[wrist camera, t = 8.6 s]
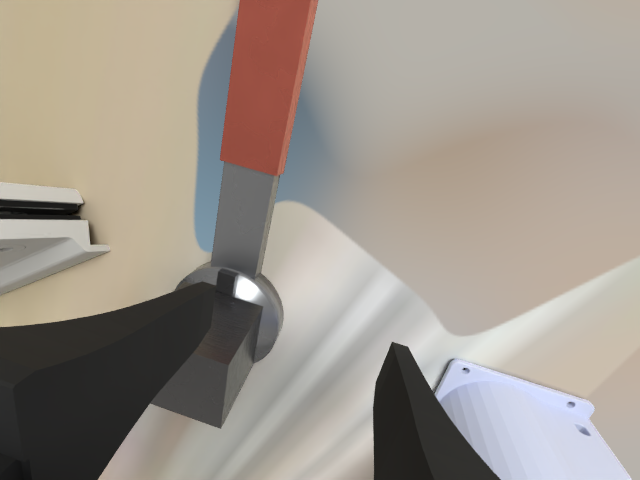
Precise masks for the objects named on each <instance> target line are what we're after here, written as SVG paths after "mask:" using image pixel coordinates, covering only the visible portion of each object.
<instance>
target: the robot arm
mask: <svg viewBox="0 0 640 480" xmlns="http://www.w3.org/2000/svg"><path fill="white" fill-rule="evenodd" d="M216 287H217V286H216V285H213V284H209V283H206V282H203V281H202V282H199V283H196V284H193V285H190V286H187V287H185V288H182V289H179V290H177V291H174V292H171V293H169V294H166V295H163V296H160V297H158V298H155V299H152V300H149V301H145V302H142V303H139V304H136V305H133V306H130V307H126V308H123V309H119V310H115V311H111V312H107V313H103V314H98V315H94V316H88V317H83V318H77V319H71V320H66V321H59V322H52V323H44V324H35V325H25V326H14V327H0V480H98V478H99V477H100V475H101V474H102V472H103V471H104V469H105V468H106V466H107V465H108V463H109V461H110V460H111V458H112V457H113V455H114V454H115V452H116V451H117V449H118V448H119V447H120V445H121V444H122V442H123V441H124V439H125V438H126V436H127V435H128V433H129V432H130V430H131V429H132V428H133V426H134V425H135V423H136V422H137V421H138V419H139V418H140V416H141V415H142V414H143V412H144V411H145V409H146V408H147V407H148V405H149V404H150V402H151V401H152V400H153V399H154V398H155V396H156V395H157V394H158V393H159V391H160V390H161V389H162V388H163V387H164V386H165V385H166V383H167V382H168V381H169V380H170V379H171V378H172V376H173V375H174V374H175V373H176V372H177V371H178V370H179V368H180V367H181V366H182V365H183V364H184V363H185V362H186V360H187V359H188V358H189V357H190V356H191V355H192V353H193V352H194V351H195V350H196V349H197V347H198V346H199V344H200V343H201V341H202V340H203V338H204V337H205V335H206V334H207V332H208V331H209V329H210V328H211V322H212V315H213V308H214V301H215V294H216ZM463 368H468V369H467V370H462V369H463ZM568 402H570V403H568ZM594 410H595V409H594V406H593V405H592V403H591V402H590V401H588V400H585V399H582V398H579V397H576V396H573V395H570V394H566V393H563V392H560V391H557V390H554V389H551V388H548V387H544V386H541V385H538V384H535V383H532V382H529V381H526V380H522V379H519V378H516V377H513V376H510V375H507V374H504V373H500V372H497V371H494V370H491V369H488V368H485V367H482V366H478V365H475V364H472V363H469V362H466V361H463V360H459V359H455V360H452V361H451V362H450V364H449V366H448V368H447V370H446V372H445V374H444V376H443V378H442V380H441V382H440V384H439V386H438V388H437V390H436V392H435V394H434V393H433V391H432V390H431V388H430V386H429V385H428V383H427V381H426V379H425V378H424V376H423V374H422V372H421V370H420V369H419V367H418V365H417V363H416V361H415V359H414V357H413V356H412V354H411V352H410V350H409V348H408V347H407V346H403V345H400V344H397V343H394V342H392V343H391V346H390V348H389V351H388V353H387V356H386V358H385V361H384V363H383V366H382V368H381V371H380V373H379V376H378V378H377V381H376V386H375V395H374V405H373V430H374V480H632V479H631V477H630V476H629V474H628V473H627V472H626V470H625V469H624V467H623V466H622V465H621V463H620V462H619V460H618V459H617V458H616V456H615V455H614V453H613V452H612V451H611V449H610V448H609V446H608V445H607V443H606V442H605V441H604V439H603V438H602V436H601V435H600V434H599V432H598V431H597V430H596V428H595V427H594V425H593V424H592V422H591V421H590V419H589V417H590V416H591V415H592V413H593V412H594Z"/></svg>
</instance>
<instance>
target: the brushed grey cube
mask: <svg viewBox="0 0 640 480" xmlns="http://www.w3.org/2000/svg"><path fill="white" fill-rule="evenodd" d="M190 285H193V284H191V283H188V282H185V281H184V282H183V283H182V284H181V285H180V286H179V287H178V288H177V289H176V290H175V291H177V290H179V289H182V288H185V287H187V286H190ZM262 311H263V306H260V305H257V304H254V303H251V302H247V301H244V300H241V299H238V298H235V297H232V296H229V295H226V294H223V293H219V292H216V294H215V301H214V308H213V315H212V322H211V328H210V329H209V331H208V332H207V334H206V335H205V337H204V338H203V340H202V341H201V343H200V344H199V346H198V347H197V349H196V350H195V351H194V352H193V353H192V355H191V356H190V357H189V358H188V359H187V360H186V362H185V363H184V364H183V365H182V366H181V367H180V368H179V370H178V371H177V372H176V373H175V374H174V375H173V376H172V378H171V379H170V380H169V381H168V382H167V383H166V385H165V386H164V387H163V388H162V389H161V390H160V391H159V393H158V394H157V395H156V396H155V398H154V399H153V400H152V401H151V402H150V403H151V404H153V405H156V406H159V407H162V408H165V409H167V410H170V411H173V412H176V413H179V414H181V415H184V416H187V417H190V418H192V419H195V420H198V421H201V422H204V423H206V424H209V425H212V426H215V427H218V428H220V429H221V427H222V425H223V423H224V421H225V419H226V417H227V415H228V413H229V411H230V409H231V407H232V405H233V403H234V401H235V400H236V398H237V396H238V394H239V392H240V390H241V388H242V386H243V384H244V382H245V380H246V378H247V376H248V374H249V372H250V370H251V368H252V366H253V362H254V357H255V351H256V345H257V339H258V334H259V328H260V322H261V317H262Z"/></svg>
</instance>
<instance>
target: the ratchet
mask: <svg viewBox="0 0 640 480" xmlns="http://www.w3.org/2000/svg"><path fill="white" fill-rule="evenodd" d="M317 4H318V0H240V3H239V11H238V19H237V27H236V36H235V43H234V52H233V59H232V67H231V75H230V84H229V91H228V100H227V107H226V115H225V123H224V131H223V139H222V147H221V155H220V160H221V161H224V168H223V176H222V183H221V191H220V199H219V206H218V214H217V222H216V229H215V237H214V244H213V252H212V260H211V262H208V263H205V264H203V265H201V266H200V267H198V268H197V269H196V270H194V271H193V272H192V273H190V274H189V275H188V276H187V277H185V278H184V279H183V280H182V281H181V282H180V283H179V284H178V286H177V287H176V289H177V288H178V287H179V286H180V285H181V284H182V283H183V282H184V281H185V282H188V283H191V284H196V283H199V282H202V281H203V282H206V283H209V284H213V285H216V286H217V287H216V292H219V293H223V294H226V295H229V296H232V297H235V298H238V299H241V300H244V301H247V302H251V303H254V304H257V305H260V306H263V311H262V317H261V322H260V328H259V334H258V339H257V345H256V351H255V357H254V362H253V364H254V363H256V362H258V361H260V360H261V359H263V358H264V357H265V356H266V355H267V354H268V353H269V352H270V350H271V349H272V347H273V345H274V343H275V341H276V339H277V337H278V335H279V333H280V331H281V328H282V325H283V306H282V303H281V300H280V297H279V295H278V293H277V291H276V290H275V288H274V287H273V285H272V284H271V283H270V281H269V280H268V279H267V278H266V277H265V276H263V275H262V274H261V269H262V264H263V259H264V253H265V248H266V243H267V238H268V233H269V228H270V223H271V218H272V213H273V208H274V203H275V198H276V192H277V188H278V182H279V177H280V174H283V173H284V168H285V163H286V158H287V153H288V148H289V143H290V138H291V133H292V128H293V123H294V118H295V113H296V108H297V103H298V99H299V93H300V88H301V83H302V79H303V74H304V68H305V63H306V59H307V54H308V49H309V43H310V39H311V34H312V28H313V24H314V19H315V14H316V9H317ZM176 289H175V290H176Z"/></svg>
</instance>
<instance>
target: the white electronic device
mask: <svg viewBox="0 0 640 480" xmlns="http://www.w3.org/2000/svg"><path fill="white" fill-rule="evenodd" d="M83 203H84V202H83V200H82V198H81V195H80V194H79V192H78V191H77V190H76V189H70V188H59V187H48V186H37V185H26V184H15V183H4V182H0V295H2V294H5V293H7V292H10V291H12V290H14V289H17V288H19V287H22V286H24V285H27V284H29V283H32V282H34V281H37V280H39V279H42V278H44V277H47V276H49V275H52V274H54V273H57V272H59V271H62V270H64V269H67V268H69V267H72V266H74V265H77V264H79V263H82V262H84V261H87V260H89V259H91V258H94V257H96V256H99V255H101V254H104V253H106V252H109V251H110V248H109V245H90V236H89V226H88V220H81V218H80V216H70V215H68V214H70V213H72V212H75V211H77V210H78V206H79V205H81V204H83Z"/></svg>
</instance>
